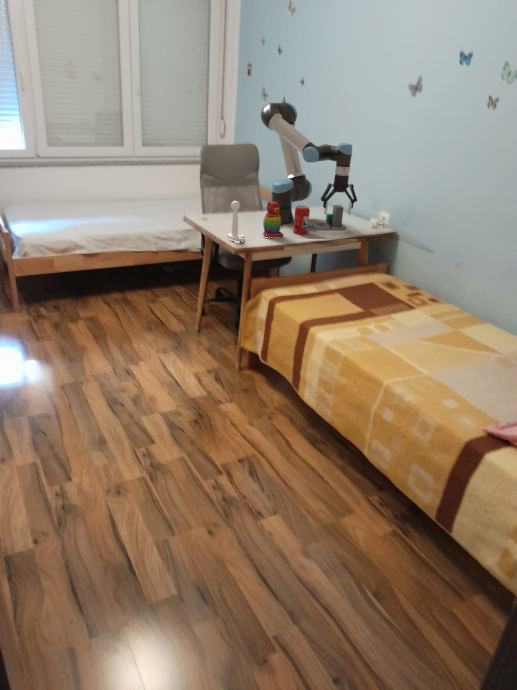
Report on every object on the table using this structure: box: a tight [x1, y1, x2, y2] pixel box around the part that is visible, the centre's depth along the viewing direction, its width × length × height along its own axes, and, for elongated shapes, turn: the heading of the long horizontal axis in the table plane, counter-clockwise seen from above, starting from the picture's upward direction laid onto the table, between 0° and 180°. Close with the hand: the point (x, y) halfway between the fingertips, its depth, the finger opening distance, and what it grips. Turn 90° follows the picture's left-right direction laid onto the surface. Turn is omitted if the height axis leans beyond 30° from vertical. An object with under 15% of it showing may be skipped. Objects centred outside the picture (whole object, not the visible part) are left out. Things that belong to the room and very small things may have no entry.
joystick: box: [227, 200, 245, 242], centre depth 263 cm, size 11×8×20 cm
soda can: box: [292, 204, 311, 236], centre depth 278 cm, size 8×8×15 cm
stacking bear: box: [262, 201, 285, 239], centre depth 273 cm, size 11×10×18 cm
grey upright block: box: [331, 204, 344, 226], centre depth 290 cm, size 4×6×12 cm, turn 9°
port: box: [325, 213, 347, 231], centre depth 293 cm, size 8×13×6 cm, turn 9°
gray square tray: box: [309, 221, 348, 233], centre depth 292 cm, size 17×17×3 cm
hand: (337, 214), depth 289 cm, fingers open, 13 cm apart
